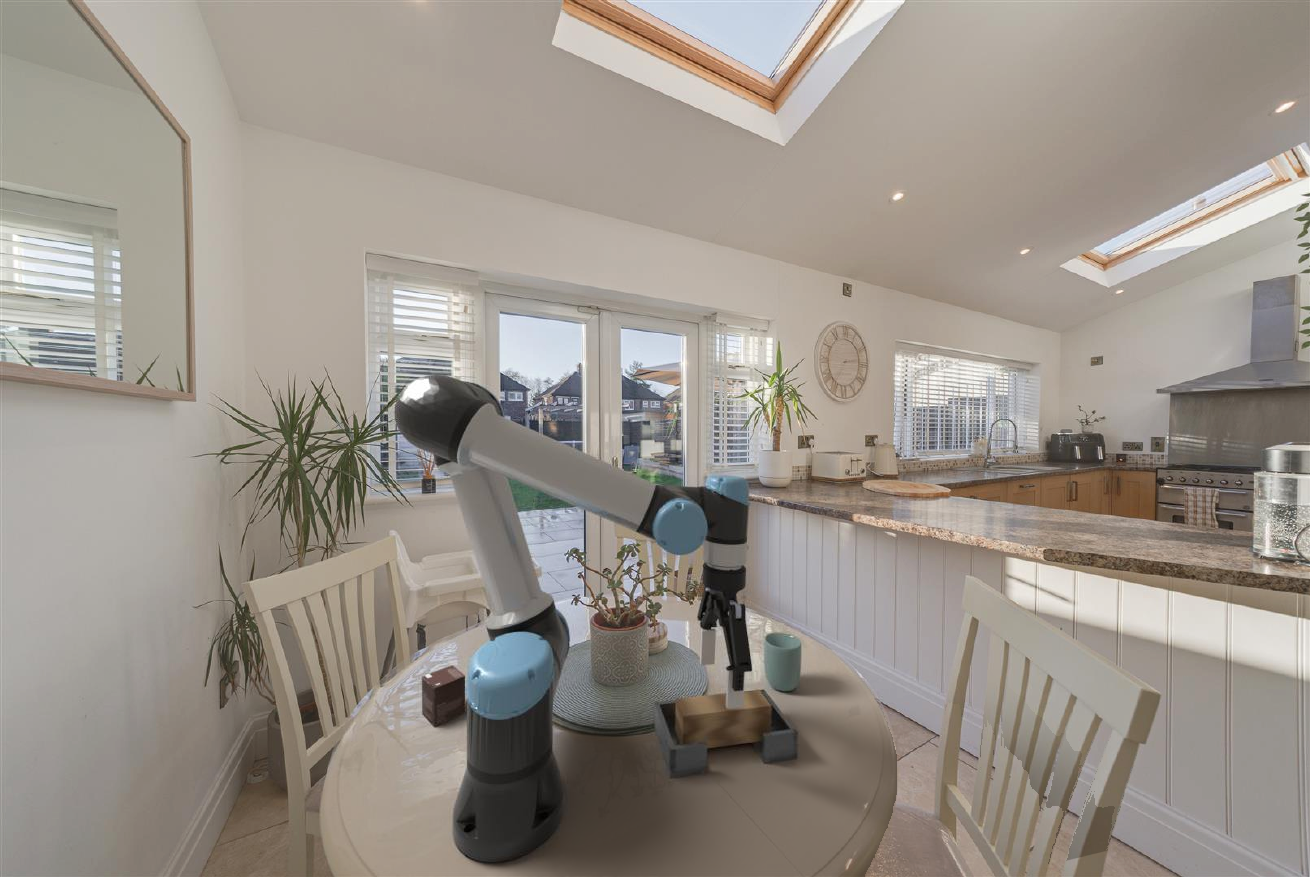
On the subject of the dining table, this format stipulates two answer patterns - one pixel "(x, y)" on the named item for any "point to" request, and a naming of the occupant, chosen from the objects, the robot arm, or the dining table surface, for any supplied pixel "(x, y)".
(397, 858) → the dining table surface
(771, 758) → the bracket right
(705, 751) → the bracket left
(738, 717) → the wooden block
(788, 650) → the cup
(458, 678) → the box
